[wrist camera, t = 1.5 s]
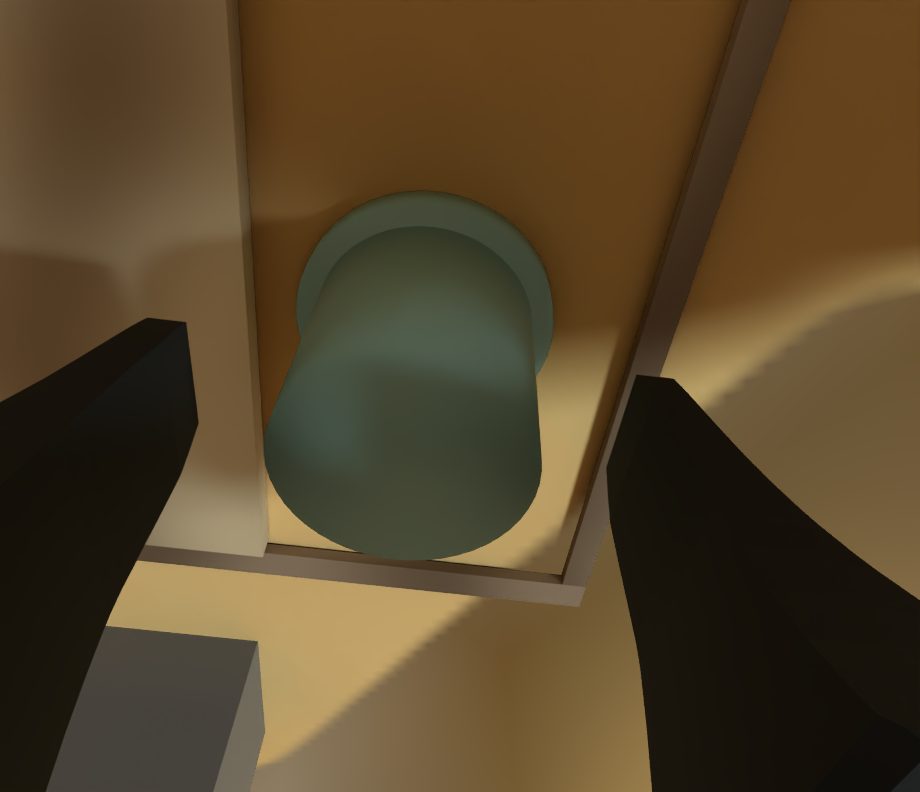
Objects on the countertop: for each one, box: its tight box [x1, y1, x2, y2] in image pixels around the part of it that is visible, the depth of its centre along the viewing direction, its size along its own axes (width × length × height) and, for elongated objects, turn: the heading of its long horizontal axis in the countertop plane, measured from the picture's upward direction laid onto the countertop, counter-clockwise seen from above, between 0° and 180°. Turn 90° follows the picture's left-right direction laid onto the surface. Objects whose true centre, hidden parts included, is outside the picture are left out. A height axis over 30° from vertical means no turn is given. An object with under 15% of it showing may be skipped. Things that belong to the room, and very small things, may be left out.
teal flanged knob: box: [264, 191, 554, 560], centre depth 12 cm, size 5×5×4 cm
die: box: [46, 626, 265, 792], centre depth 20 cm, size 5×5×5 cm
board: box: [0, 0, 791, 607], centre depth 14 cm, size 21×16×1 cm
